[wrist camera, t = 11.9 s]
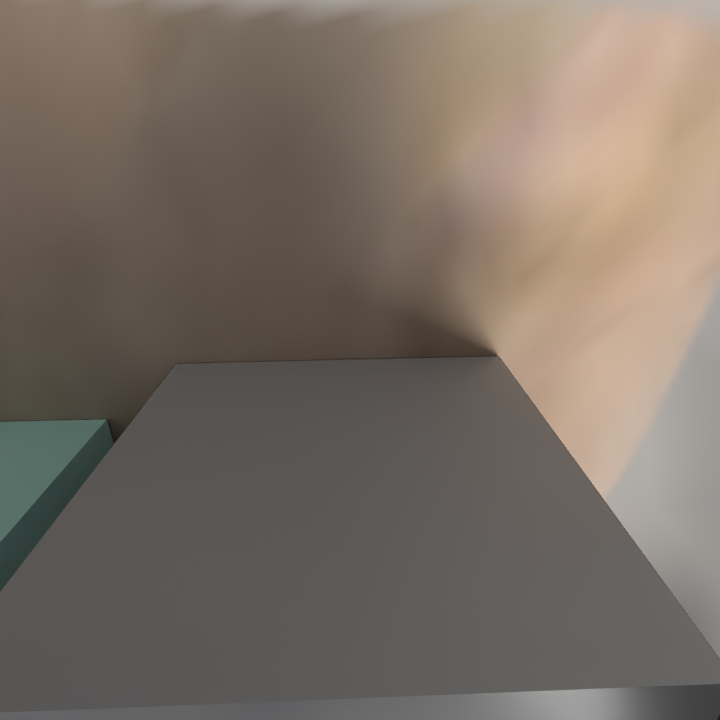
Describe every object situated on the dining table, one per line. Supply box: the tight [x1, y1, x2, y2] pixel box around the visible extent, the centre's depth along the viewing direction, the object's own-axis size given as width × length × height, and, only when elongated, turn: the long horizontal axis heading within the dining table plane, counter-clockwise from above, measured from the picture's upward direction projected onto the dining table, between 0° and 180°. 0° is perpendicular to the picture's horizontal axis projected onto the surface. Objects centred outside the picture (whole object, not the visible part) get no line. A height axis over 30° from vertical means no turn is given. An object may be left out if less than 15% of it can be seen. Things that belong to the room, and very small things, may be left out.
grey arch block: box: [0, 356, 720, 720], centre depth 8 cm, size 7×7×6 cm
